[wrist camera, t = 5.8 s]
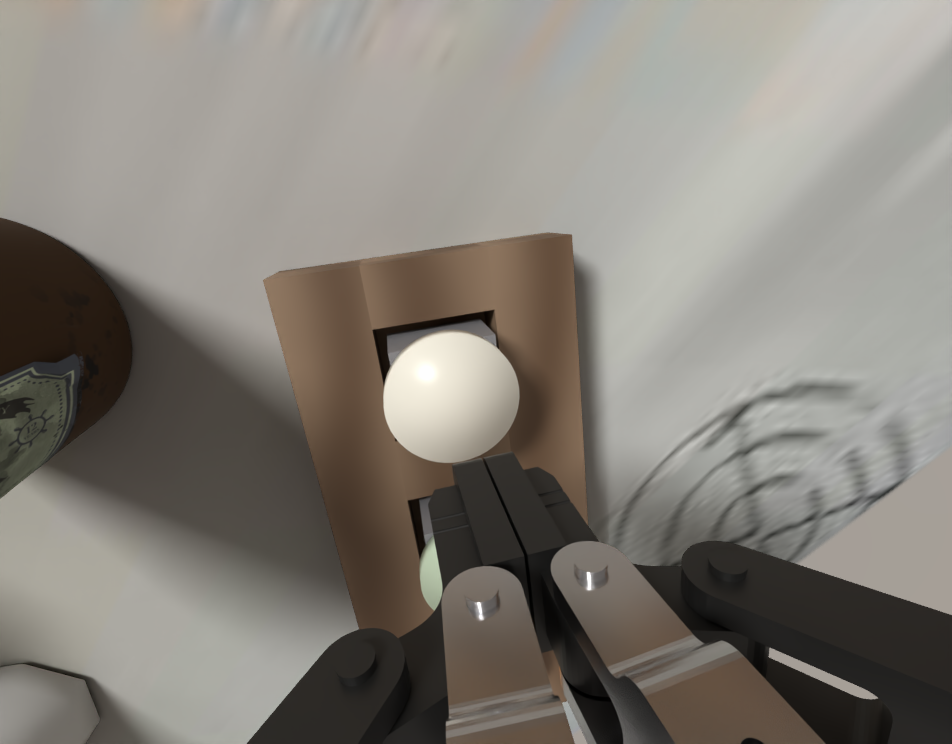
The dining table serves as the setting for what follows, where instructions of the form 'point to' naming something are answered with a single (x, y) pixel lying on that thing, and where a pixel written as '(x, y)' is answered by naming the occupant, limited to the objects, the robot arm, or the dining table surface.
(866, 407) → the dining table surface
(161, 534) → the dining table surface
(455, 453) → the button cream
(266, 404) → the dining table surface
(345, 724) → the robot arm
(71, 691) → the flask
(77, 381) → the olive oil
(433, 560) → the button sage
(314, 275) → the console
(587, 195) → the dining table surface
